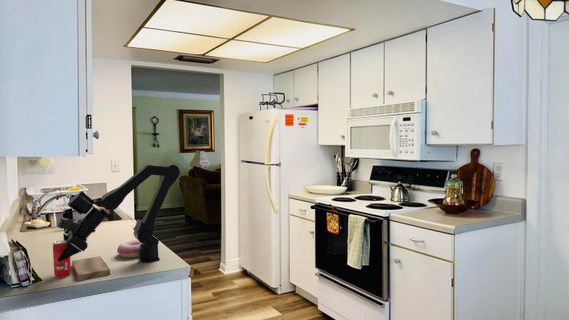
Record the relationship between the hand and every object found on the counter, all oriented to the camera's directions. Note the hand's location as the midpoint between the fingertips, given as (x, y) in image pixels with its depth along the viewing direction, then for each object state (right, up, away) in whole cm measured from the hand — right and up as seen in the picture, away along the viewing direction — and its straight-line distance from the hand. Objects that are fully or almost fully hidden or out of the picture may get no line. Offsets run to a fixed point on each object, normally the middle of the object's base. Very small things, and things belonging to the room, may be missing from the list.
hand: (57, 258), depth 141 cm
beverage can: (+1, -7, +1) cm, 7 cm away
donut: (+17, -5, +26) cm, 32 cm away
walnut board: (+8, -6, +7) cm, 12 cm away
